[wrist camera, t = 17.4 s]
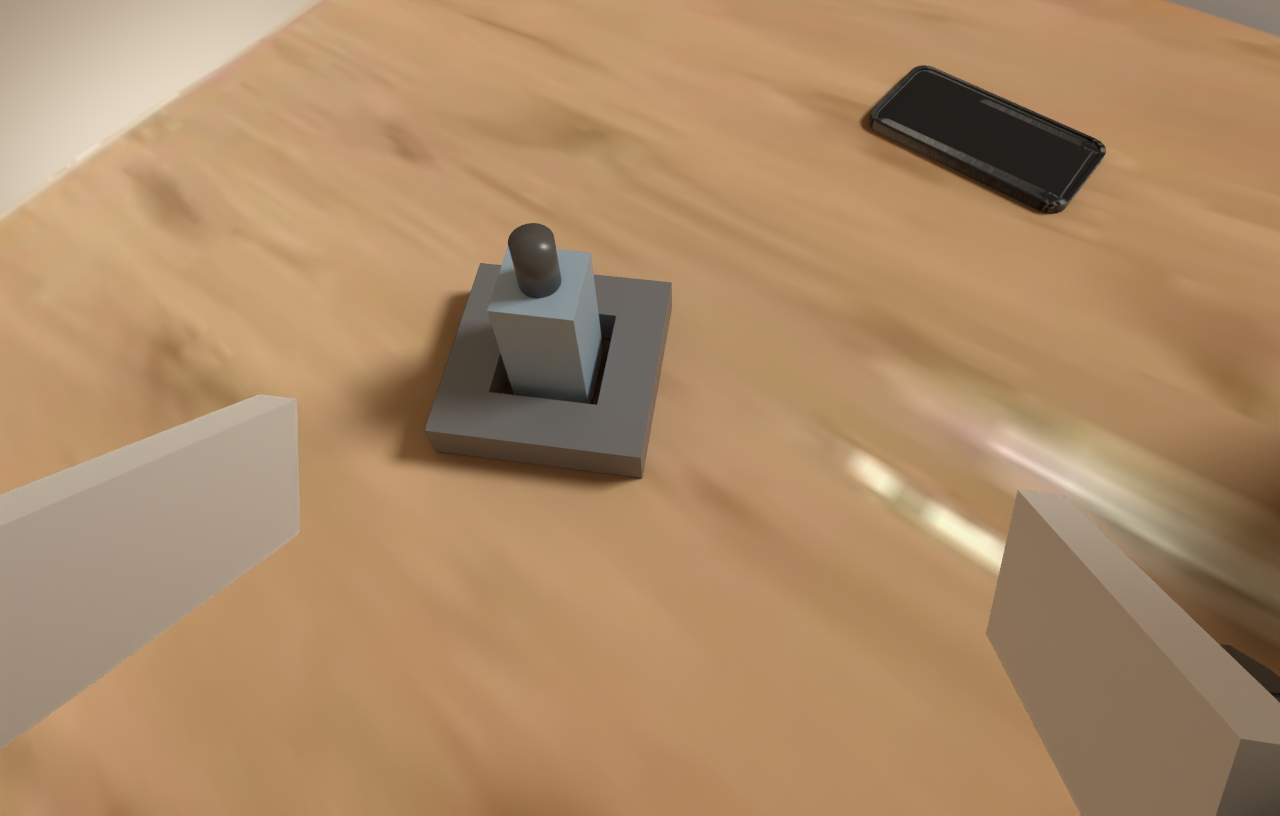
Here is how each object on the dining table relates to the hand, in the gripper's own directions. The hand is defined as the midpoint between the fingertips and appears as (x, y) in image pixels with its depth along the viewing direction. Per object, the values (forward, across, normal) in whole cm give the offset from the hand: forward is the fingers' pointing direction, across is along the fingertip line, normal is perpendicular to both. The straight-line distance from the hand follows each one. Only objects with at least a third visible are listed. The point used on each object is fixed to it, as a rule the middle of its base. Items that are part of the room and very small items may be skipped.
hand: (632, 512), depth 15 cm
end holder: (+33, -9, -6) cm, 35 cm away
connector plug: (+33, -9, -6) cm, 35 cm away
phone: (+50, +17, +11) cm, 54 cm away
